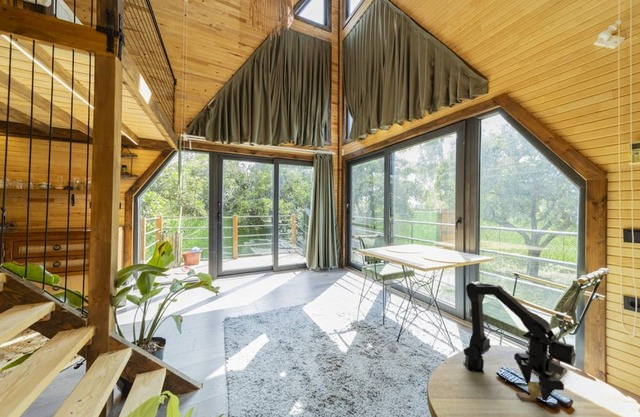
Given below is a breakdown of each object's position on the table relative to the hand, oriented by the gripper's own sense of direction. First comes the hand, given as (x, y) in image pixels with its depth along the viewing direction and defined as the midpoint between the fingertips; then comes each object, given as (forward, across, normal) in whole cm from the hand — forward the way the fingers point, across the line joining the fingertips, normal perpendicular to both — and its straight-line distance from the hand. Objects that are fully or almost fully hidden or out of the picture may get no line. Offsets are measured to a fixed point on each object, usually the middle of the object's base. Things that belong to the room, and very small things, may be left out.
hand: (535, 391), depth 102 cm
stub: (+3, 0, 0) cm, 3 cm away
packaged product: (+4, +22, -20) cm, 29 cm away
